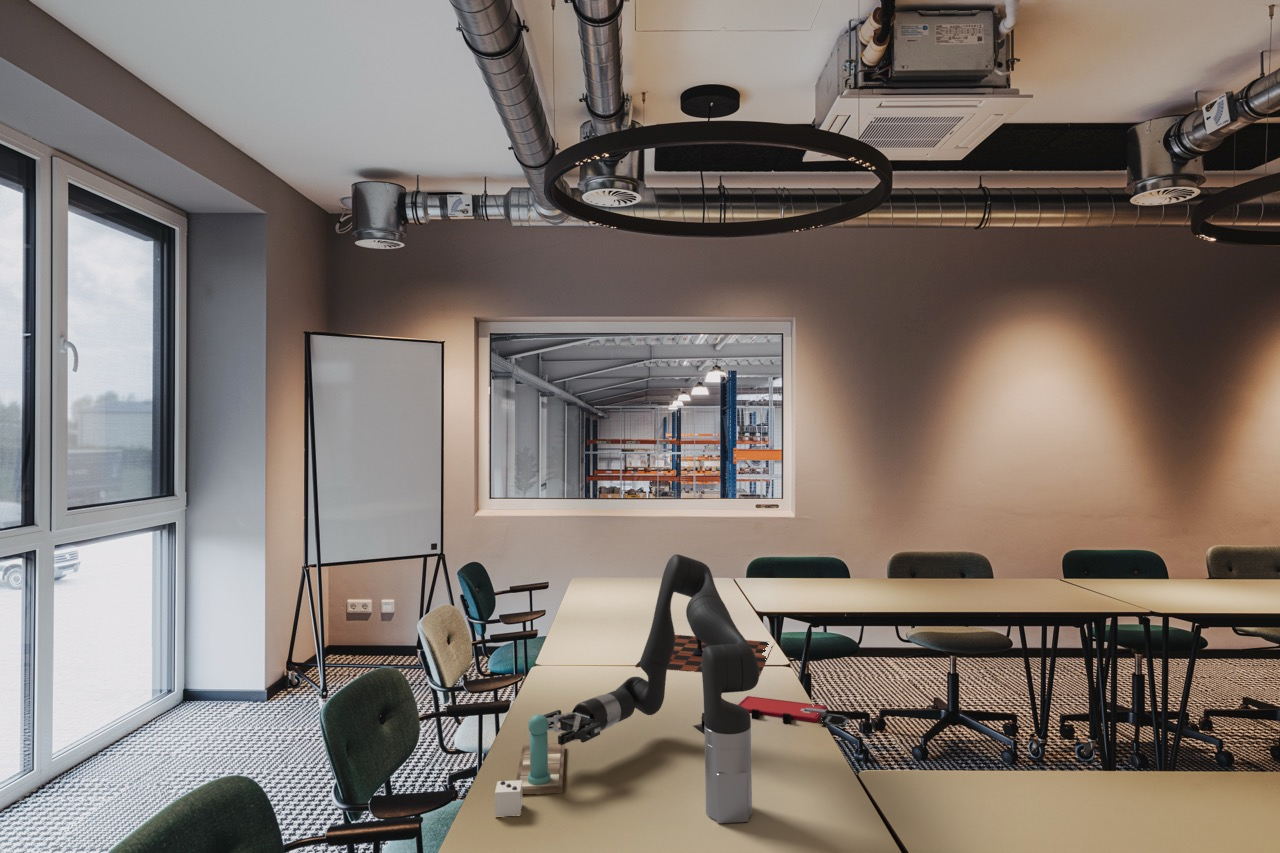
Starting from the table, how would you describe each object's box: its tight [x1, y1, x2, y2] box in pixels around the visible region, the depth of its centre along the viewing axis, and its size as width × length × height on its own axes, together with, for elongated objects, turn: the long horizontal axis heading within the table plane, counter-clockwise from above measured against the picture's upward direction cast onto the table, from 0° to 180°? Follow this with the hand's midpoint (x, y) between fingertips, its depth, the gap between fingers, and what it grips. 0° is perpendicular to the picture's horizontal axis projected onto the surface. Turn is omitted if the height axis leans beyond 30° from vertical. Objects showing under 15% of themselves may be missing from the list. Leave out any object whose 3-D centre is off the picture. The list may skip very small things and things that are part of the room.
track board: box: [515, 742, 566, 795], centre depth 176 cm, size 24×10×1 cm, turn 4°
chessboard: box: [635, 634, 769, 677], centre depth 266 cm, size 40×40×11 cm
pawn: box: [527, 714, 550, 785], centre depth 168 cm, size 5×5×14 cm
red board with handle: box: [737, 695, 852, 728], centre depth 208 cm, size 30×3×15 cm
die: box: [494, 780, 523, 817], centre depth 157 cm, size 5×5×6 cm
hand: (545, 735), depth 169 cm, fingers open, 8 cm apart
